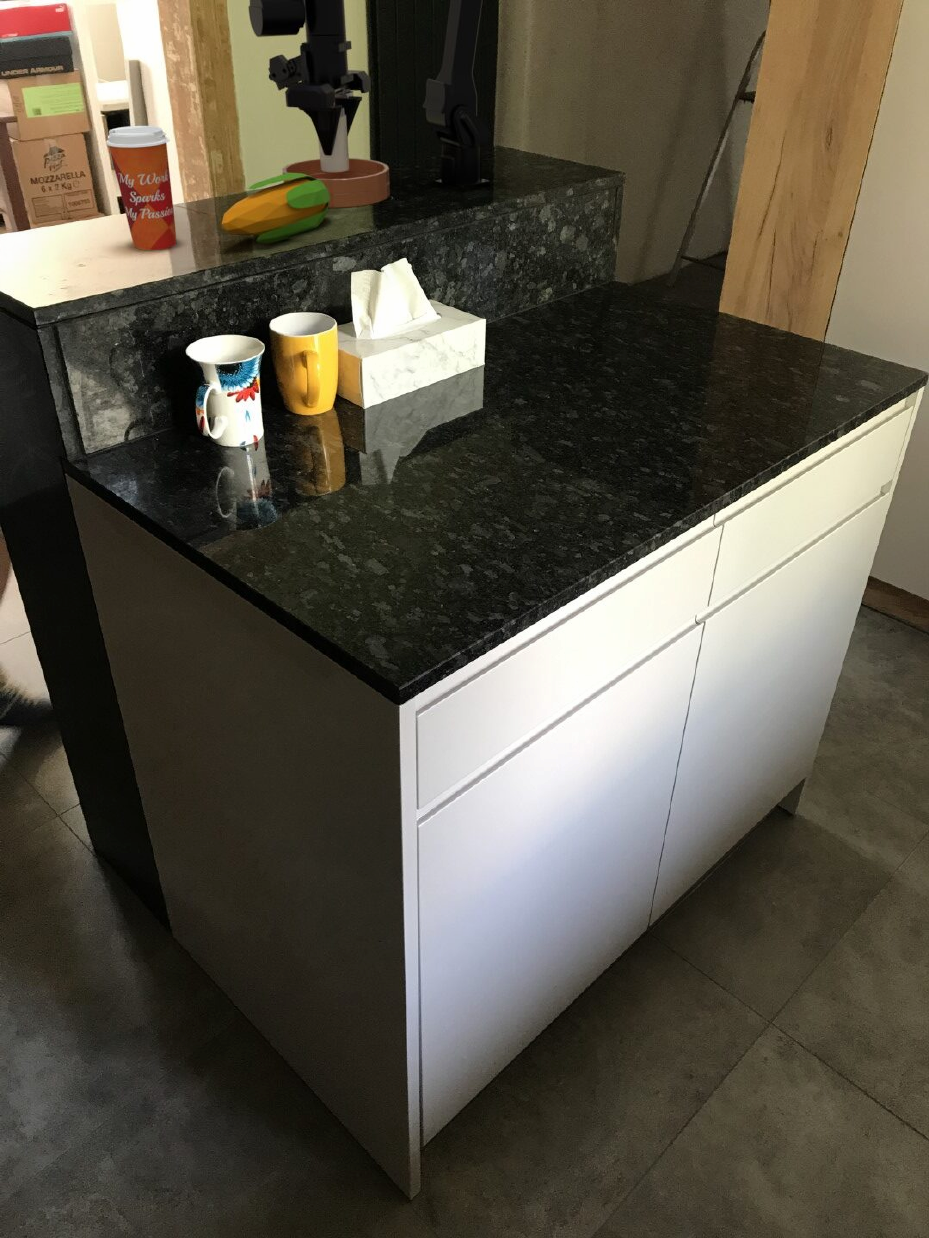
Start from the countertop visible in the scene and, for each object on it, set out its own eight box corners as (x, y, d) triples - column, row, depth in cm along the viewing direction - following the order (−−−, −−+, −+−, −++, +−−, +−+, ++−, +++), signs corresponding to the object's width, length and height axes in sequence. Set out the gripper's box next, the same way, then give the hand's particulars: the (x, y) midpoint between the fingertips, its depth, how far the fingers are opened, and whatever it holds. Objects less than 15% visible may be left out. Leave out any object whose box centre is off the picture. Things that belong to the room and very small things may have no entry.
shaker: (336, 165, 155) (332, 104, 150) (355, 169, 153) (351, 108, 148) (314, 169, 153) (309, 108, 148) (333, 174, 150) (329, 111, 145)
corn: (340, 166, 138) (240, 193, 124) (347, 224, 142) (251, 256, 129) (300, 164, 142) (198, 191, 128) (308, 220, 146) (210, 252, 132)
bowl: (342, 183, 165) (340, 153, 162) (411, 199, 156) (410, 168, 153) (264, 200, 155) (260, 169, 152) (332, 217, 146) (329, 185, 143)
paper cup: (126, 254, 130) (103, 137, 122) (125, 239, 136) (103, 126, 128) (187, 249, 132) (169, 134, 124) (183, 235, 138) (166, 123, 130)
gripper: (300, 26, 151) (309, 138, 161) (245, 38, 137) (258, 161, 146) (369, 28, 149) (374, 142, 158) (320, 41, 134) (329, 165, 143)
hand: (334, 152), depth 151 cm, fingers closed on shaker, 4 cm apart
